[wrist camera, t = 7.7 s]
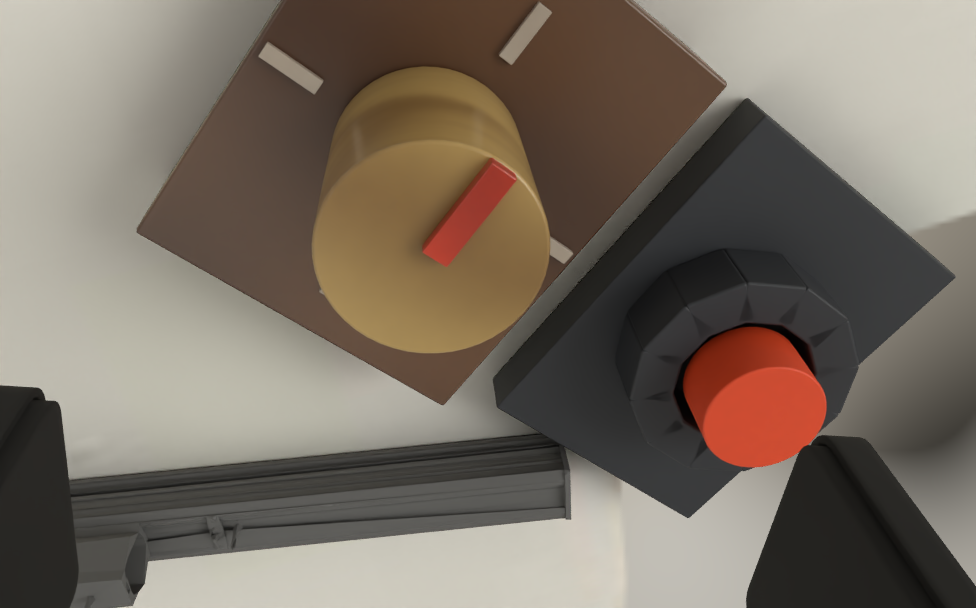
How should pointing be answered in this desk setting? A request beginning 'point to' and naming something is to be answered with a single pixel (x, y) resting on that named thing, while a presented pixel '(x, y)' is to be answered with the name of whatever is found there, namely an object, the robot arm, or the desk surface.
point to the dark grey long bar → (306, 505)
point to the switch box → (715, 305)
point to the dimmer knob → (429, 214)
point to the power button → (753, 397)
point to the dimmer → (405, 44)
